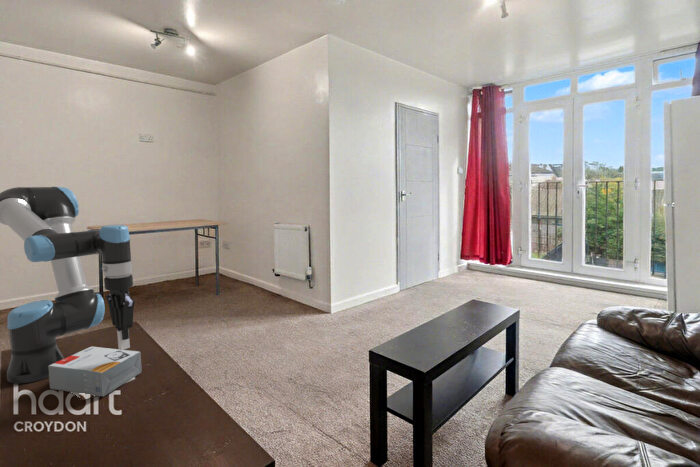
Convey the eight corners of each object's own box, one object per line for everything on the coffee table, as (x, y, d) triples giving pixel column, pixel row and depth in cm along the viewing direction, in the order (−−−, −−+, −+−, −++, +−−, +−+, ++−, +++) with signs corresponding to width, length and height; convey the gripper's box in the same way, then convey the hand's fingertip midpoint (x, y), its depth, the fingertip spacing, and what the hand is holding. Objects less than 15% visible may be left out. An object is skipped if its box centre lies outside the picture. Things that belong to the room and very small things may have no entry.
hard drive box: (101, 372, 110) (46, 366, 115) (103, 397, 111) (48, 390, 115) (141, 350, 126) (90, 345, 130) (142, 372, 126) (92, 367, 131)
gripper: (94, 275, 117) (101, 347, 120) (116, 280, 110) (122, 358, 113) (120, 270, 123) (125, 339, 126) (141, 275, 116) (147, 348, 119)
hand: (124, 348), depth 119 cm, fingers closed
